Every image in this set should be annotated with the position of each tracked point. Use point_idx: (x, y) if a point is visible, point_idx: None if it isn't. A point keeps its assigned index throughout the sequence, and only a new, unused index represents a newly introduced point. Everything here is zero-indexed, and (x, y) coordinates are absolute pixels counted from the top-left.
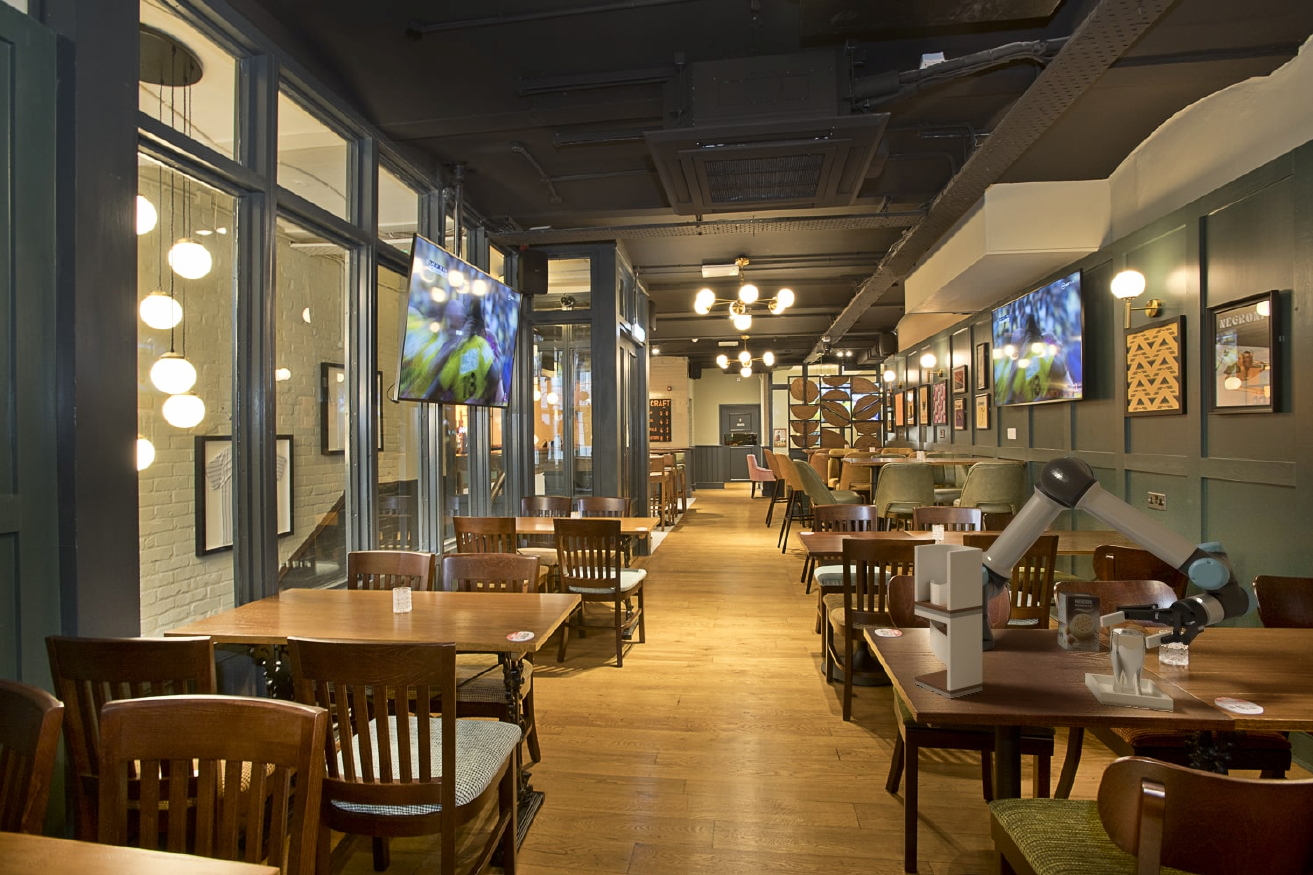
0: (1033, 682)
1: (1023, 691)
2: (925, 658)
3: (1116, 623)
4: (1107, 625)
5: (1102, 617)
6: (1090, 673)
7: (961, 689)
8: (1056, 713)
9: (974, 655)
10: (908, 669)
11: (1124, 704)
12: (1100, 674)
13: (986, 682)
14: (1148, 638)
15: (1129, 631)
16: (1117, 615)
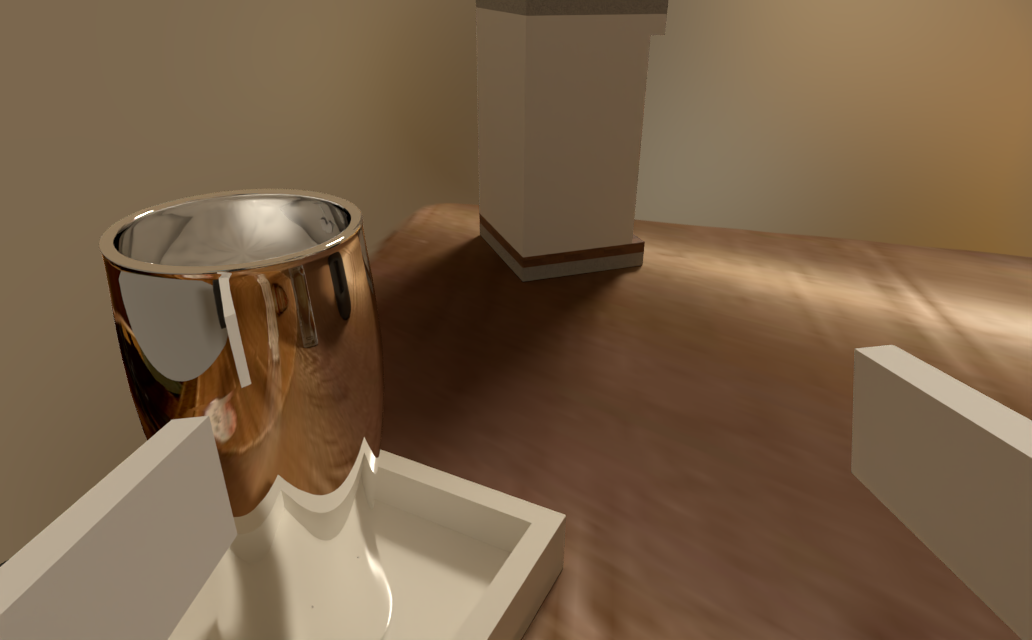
0: (595, 400)
1: (503, 343)
2: (838, 280)
3: (980, 592)
4: (885, 494)
5: (863, 350)
6: (553, 533)
7: (493, 231)
8: None
9: (510, 156)
10: (708, 238)
11: None
12: (529, 574)
13: (599, 309)
14: (172, 426)
15: (286, 280)
16: (1017, 485)
